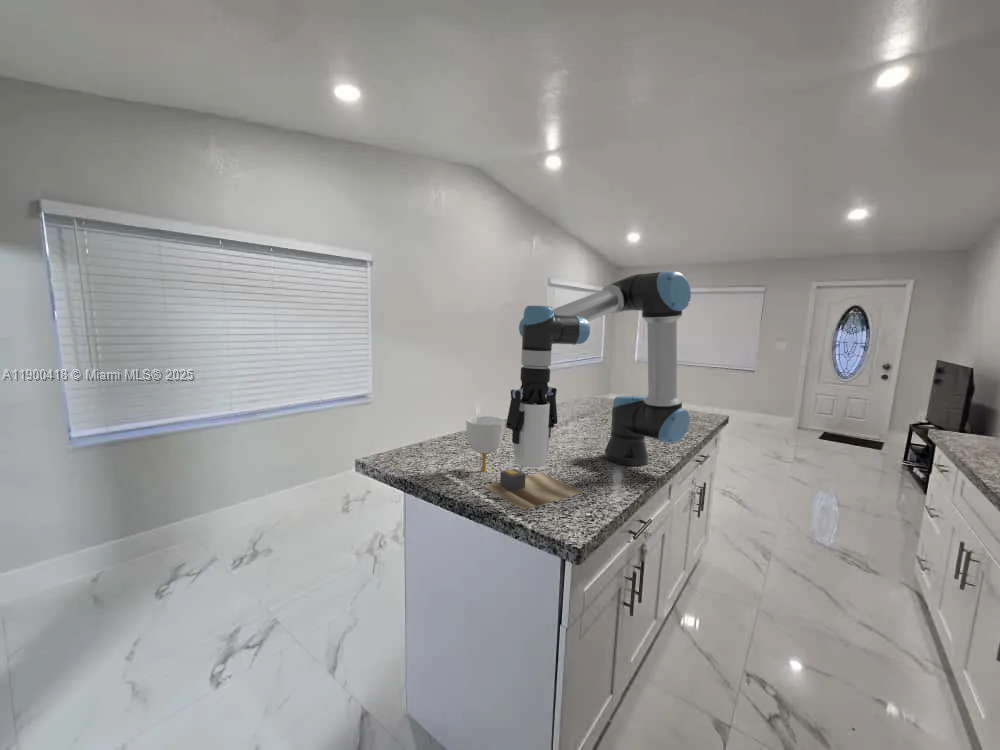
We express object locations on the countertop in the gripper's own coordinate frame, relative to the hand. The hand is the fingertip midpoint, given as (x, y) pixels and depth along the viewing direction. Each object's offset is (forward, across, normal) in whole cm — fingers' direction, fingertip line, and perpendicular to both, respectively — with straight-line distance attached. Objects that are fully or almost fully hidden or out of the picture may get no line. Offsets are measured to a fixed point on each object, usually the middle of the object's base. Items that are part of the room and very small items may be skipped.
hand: (531, 452), depth 111 cm
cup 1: (+13, -1, -23) cm, 27 cm away
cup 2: (+3, 0, 0) cm, 3 cm away
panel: (+13, -5, -4) cm, 15 cm away
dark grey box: (+12, -1, -8) cm, 15 cm away
